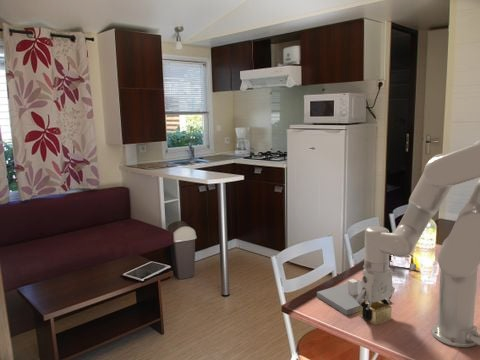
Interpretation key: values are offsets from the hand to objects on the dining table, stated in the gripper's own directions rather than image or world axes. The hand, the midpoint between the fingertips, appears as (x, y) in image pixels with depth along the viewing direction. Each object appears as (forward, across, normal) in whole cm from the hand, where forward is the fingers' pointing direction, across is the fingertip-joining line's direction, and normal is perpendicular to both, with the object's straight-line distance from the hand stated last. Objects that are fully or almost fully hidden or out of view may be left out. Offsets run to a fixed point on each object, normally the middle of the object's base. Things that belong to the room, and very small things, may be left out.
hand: (375, 315), depth 137 cm
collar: (+1, 0, 0) cm, 1 cm away
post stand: (+1, +3, +14) cm, 14 cm away
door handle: (+1, +42, +30) cm, 52 cm away
